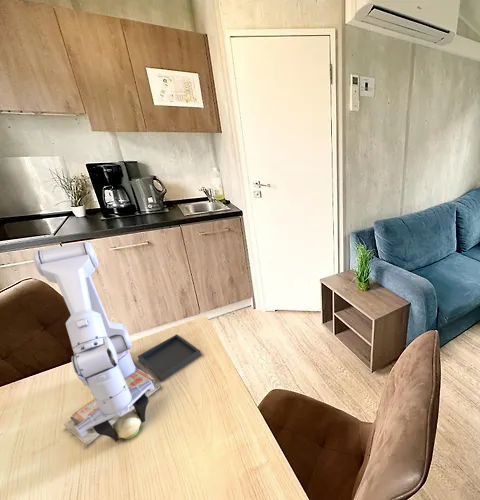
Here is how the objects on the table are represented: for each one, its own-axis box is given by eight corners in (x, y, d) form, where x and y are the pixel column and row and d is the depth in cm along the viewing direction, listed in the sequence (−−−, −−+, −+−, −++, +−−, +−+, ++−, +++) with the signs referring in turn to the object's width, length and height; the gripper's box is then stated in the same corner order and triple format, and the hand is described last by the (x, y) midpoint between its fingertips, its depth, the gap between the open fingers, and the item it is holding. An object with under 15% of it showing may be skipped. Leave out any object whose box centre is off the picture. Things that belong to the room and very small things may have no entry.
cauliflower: (114, 435, 69) (106, 420, 67) (138, 418, 73) (131, 403, 71) (123, 448, 67) (115, 432, 64) (147, 429, 71) (141, 414, 68)
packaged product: (135, 364, 83) (157, 375, 80) (140, 376, 85) (161, 388, 82) (57, 416, 69) (79, 433, 65) (65, 429, 71) (87, 447, 67)
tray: (139, 360, 91) (137, 356, 90) (178, 338, 100) (176, 334, 100) (161, 381, 84) (159, 376, 83) (201, 355, 93) (200, 350, 92)
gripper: (74, 425, 56) (99, 466, 62) (153, 375, 67) (168, 414, 73) (63, 407, 60) (87, 447, 65) (140, 363, 71) (155, 400, 76)
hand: (129, 429), depth 69 cm, fingers closed on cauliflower, 5 cm apart
